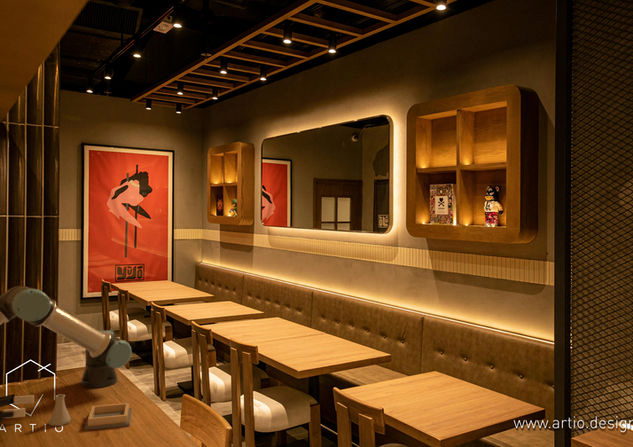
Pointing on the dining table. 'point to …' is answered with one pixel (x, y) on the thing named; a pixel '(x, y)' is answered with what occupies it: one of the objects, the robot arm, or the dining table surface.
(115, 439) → the dining table surface
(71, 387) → the dining table surface
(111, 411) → the holder
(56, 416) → the flask
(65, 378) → the dining table surface
